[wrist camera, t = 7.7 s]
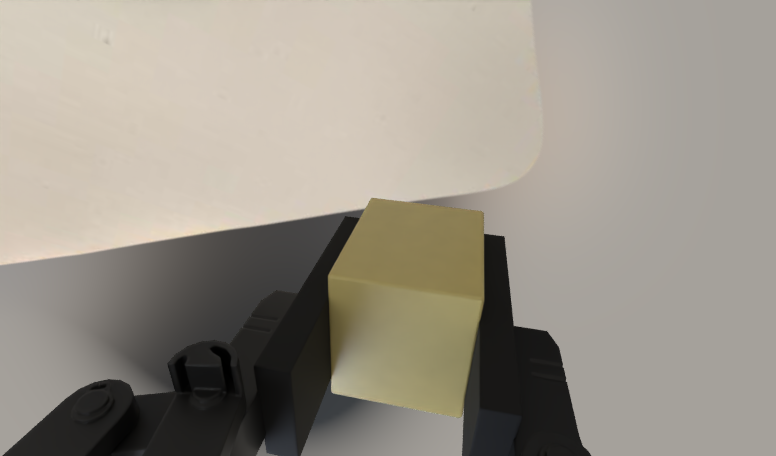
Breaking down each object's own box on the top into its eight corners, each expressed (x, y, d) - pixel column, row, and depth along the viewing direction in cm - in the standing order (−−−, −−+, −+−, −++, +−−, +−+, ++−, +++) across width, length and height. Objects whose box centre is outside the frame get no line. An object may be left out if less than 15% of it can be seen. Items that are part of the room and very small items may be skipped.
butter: (467, 311, 15) (461, 420, 11) (368, 295, 16) (330, 394, 12) (484, 210, 13) (484, 299, 9) (370, 196, 14) (326, 275, 10)
